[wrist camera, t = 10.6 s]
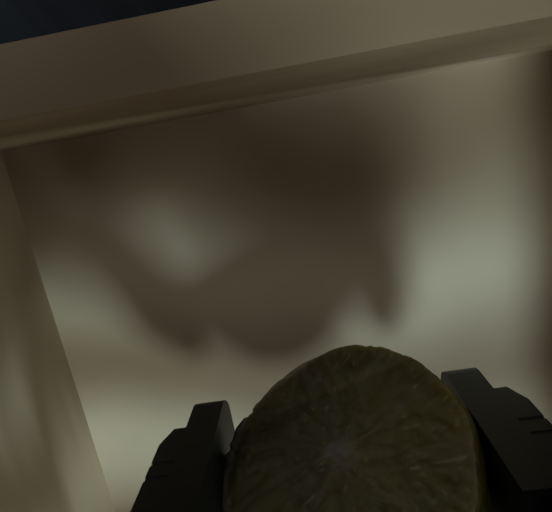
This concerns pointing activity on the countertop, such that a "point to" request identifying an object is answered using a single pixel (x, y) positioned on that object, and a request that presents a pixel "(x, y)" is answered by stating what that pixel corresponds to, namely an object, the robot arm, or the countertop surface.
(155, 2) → the countertop surface
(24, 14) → the countertop surface
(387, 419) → the lime
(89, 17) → the countertop surface
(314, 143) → the crate
